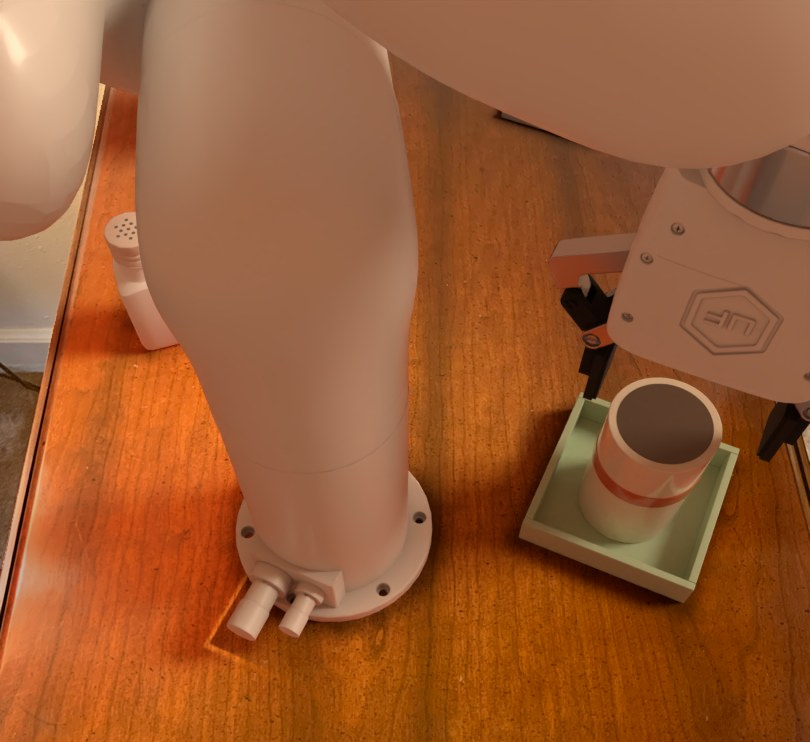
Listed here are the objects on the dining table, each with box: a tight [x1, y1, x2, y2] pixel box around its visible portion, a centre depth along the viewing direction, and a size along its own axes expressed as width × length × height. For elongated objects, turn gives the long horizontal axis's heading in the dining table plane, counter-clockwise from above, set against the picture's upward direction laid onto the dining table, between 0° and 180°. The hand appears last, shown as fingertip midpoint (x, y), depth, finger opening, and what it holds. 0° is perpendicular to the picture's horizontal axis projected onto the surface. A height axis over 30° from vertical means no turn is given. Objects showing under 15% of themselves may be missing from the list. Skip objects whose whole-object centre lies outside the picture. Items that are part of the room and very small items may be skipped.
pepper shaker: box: [103, 211, 180, 351], centre depth 56 cm, size 4×4×10 cm
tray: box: [518, 391, 741, 604], centre depth 53 cm, size 11×11×2 cm
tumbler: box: [578, 376, 723, 543], centre depth 50 cm, size 6×6×9 cm
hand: (680, 409), depth 45 cm, fingers open, 9 cm apart
